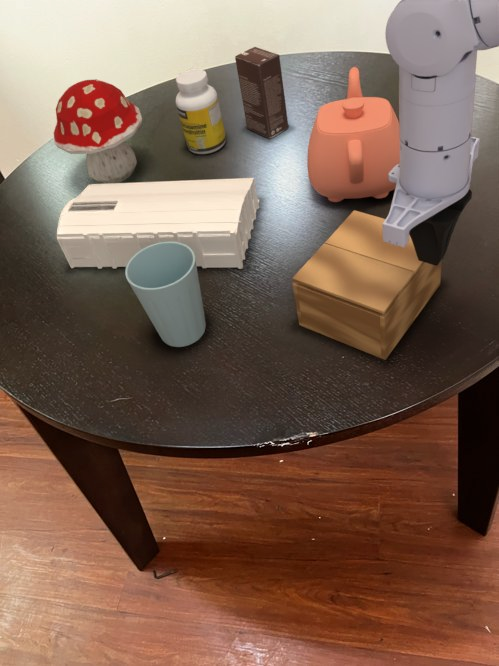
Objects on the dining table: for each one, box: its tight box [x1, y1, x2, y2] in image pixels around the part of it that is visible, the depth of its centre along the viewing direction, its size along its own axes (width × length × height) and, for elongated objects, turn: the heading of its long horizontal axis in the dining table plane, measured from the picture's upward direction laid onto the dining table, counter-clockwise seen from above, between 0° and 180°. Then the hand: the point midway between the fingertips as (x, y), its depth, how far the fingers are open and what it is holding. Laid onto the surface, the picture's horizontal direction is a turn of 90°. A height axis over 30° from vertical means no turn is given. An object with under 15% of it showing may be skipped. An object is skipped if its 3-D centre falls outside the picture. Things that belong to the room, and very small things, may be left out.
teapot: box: [306, 66, 400, 203], centre depth 87 cm, size 13×20×12 cm, turn 174°
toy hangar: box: [56, 177, 260, 270], centre depth 88 cm, size 25×15×7 cm, turn 80°
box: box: [234, 46, 289, 140], centre depth 101 cm, size 6×4×12 cm
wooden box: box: [291, 242, 443, 361], centre depth 72 cm, size 13×11×7 cm
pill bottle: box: [175, 68, 227, 155], centre depth 100 cm, size 6×6×12 cm
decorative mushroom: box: [53, 78, 143, 184], centre depth 98 cm, size 14×14×15 cm
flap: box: [324, 209, 424, 274], centre depth 71 cm, size 6×11×1 cm, turn 53°
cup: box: [124, 241, 207, 348], centre depth 73 cm, size 8×8×10 cm
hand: (430, 258), depth 63 cm, fingers closed
